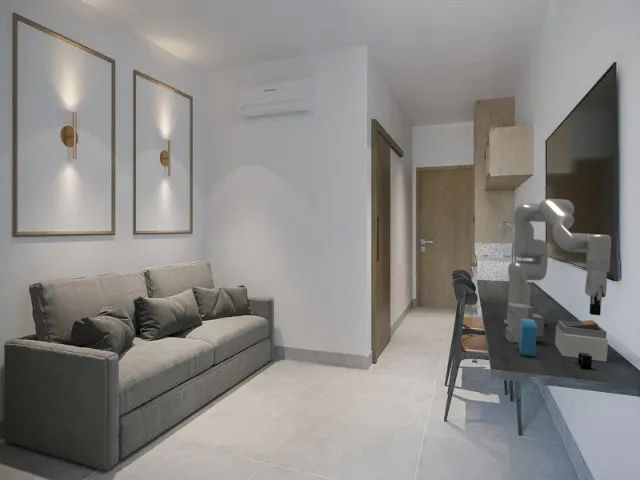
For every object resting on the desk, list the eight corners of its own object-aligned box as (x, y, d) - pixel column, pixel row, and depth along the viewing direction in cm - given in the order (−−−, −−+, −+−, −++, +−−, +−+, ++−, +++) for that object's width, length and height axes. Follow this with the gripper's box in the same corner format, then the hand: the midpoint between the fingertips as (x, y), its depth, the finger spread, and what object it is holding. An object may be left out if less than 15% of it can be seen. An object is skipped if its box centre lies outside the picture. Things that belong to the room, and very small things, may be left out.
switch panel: (554, 344, 171) (556, 319, 171) (594, 349, 166) (596, 323, 166) (562, 355, 156) (564, 328, 156) (606, 361, 151) (608, 333, 151)
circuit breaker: (546, 345, 169) (549, 309, 169) (509, 342, 172) (511, 306, 171) (541, 340, 177) (543, 305, 176) (505, 337, 179) (507, 302, 179)
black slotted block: (567, 360, 152) (568, 348, 152) (589, 363, 151) (590, 350, 151) (579, 371, 140) (580, 358, 140) (604, 374, 139) (605, 361, 138)
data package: (518, 347, 165) (520, 317, 164) (531, 349, 163) (533, 319, 162) (521, 356, 153) (523, 323, 153) (534, 358, 152) (537, 325, 151)
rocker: (564, 326, 166) (563, 322, 166) (593, 324, 162) (592, 319, 162) (568, 330, 159) (567, 325, 159) (598, 328, 156) (597, 323, 156)
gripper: (581, 264, 166) (578, 310, 167) (591, 267, 152) (588, 317, 153) (603, 266, 164) (600, 312, 164) (615, 268, 150) (612, 319, 150)
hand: (594, 314), depth 159 cm, fingers closed
